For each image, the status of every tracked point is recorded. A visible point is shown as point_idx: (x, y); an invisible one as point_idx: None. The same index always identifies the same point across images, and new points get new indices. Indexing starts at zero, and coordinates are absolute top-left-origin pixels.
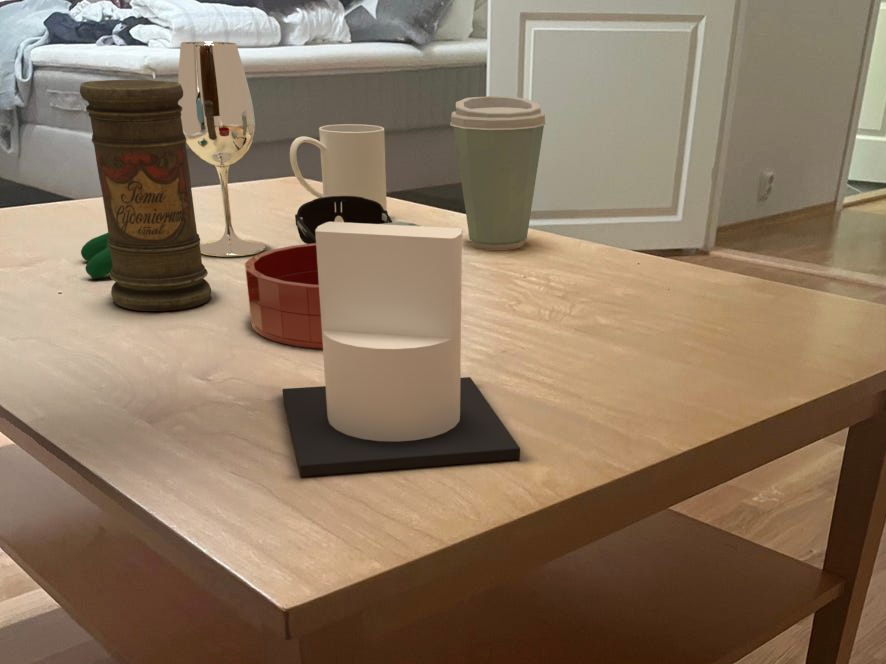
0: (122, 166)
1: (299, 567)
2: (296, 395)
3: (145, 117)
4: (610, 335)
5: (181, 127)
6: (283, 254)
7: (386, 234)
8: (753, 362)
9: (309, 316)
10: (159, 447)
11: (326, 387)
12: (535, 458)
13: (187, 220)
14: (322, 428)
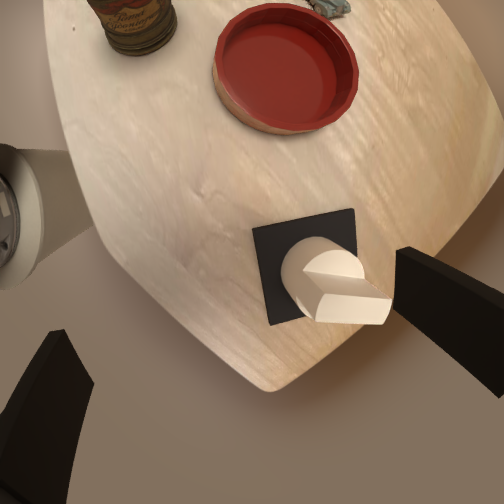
0: (108, 8)
1: (272, 379)
2: (262, 240)
3: None
4: (421, 126)
5: None
6: (240, 21)
7: (353, 322)
8: (459, 179)
9: (266, 129)
10: (198, 296)
11: (286, 284)
12: None
13: (163, 7)
14: (278, 287)
